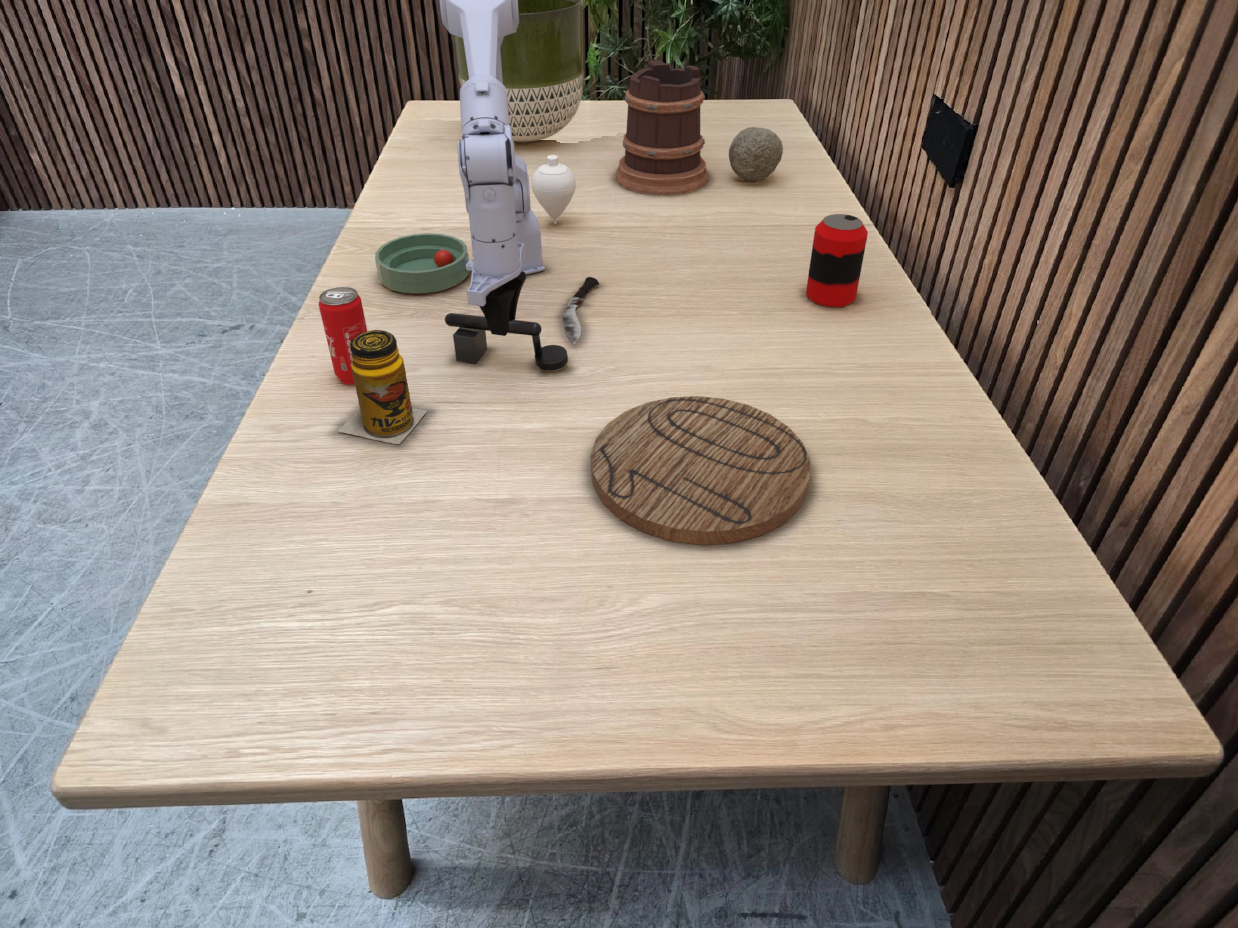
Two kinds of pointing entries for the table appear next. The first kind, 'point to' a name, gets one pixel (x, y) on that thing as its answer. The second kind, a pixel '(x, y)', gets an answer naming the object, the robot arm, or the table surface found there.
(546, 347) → the crank handle
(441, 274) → the bowl
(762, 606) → the table surface
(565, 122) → the planter
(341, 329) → the beverage can
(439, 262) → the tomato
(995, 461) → the table surface
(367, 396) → the condiment
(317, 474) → the table surface
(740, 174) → the decorative stone
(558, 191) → the spinning top
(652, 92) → the brown wooden barrel
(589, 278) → the knife
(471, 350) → the dark grey cube
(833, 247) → the soda can
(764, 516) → the trivet
